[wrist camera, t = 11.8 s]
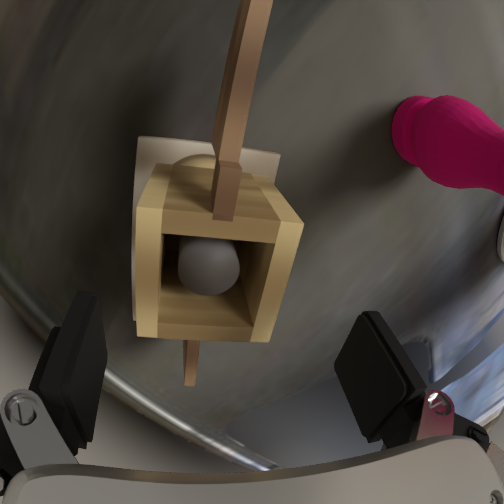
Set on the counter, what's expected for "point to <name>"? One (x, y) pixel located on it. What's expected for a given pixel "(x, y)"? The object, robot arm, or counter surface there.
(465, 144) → the pepper mill
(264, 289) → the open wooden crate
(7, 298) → the counter surface
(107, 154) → the counter surface
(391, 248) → the counter surface
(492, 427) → the counter surface
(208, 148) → the hinge base
